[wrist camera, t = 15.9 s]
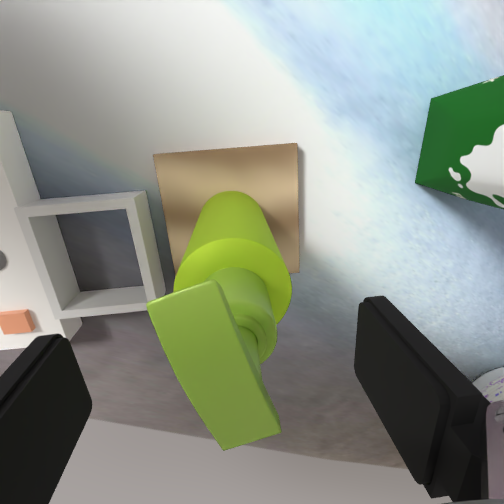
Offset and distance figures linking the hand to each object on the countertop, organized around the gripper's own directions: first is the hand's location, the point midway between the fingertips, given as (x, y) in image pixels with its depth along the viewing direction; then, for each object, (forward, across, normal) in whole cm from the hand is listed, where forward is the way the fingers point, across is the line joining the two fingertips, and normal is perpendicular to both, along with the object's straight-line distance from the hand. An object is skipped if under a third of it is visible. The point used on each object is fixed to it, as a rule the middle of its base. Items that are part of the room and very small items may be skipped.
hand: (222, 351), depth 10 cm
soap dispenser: (+18, -1, +1) cm, 18 cm away
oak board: (+19, -1, +1) cm, 19 cm away
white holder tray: (+20, +14, +1) cm, 24 cm away
